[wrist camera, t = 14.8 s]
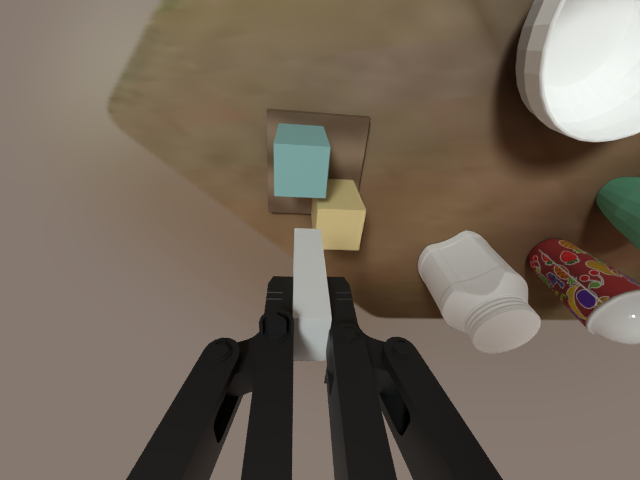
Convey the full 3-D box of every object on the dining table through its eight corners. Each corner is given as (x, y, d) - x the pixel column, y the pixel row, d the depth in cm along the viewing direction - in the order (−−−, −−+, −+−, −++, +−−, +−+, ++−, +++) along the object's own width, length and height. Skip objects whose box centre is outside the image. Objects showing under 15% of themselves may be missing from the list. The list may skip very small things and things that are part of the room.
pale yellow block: (313, 177, 37) (317, 208, 30) (353, 180, 37) (366, 210, 30) (311, 213, 40) (314, 249, 32) (347, 214, 40) (358, 250, 33)
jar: (425, 289, 51) (466, 367, 39) (410, 252, 46) (452, 327, 34) (490, 265, 49) (556, 338, 36) (482, 223, 44) (555, 291, 31)
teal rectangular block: (278, 123, 33) (273, 143, 26) (323, 126, 33) (330, 146, 26) (278, 166, 36) (274, 196, 28) (320, 169, 36) (325, 198, 29)
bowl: (605, 124, 36) (681, 142, 29) (464, 124, 35) (507, 143, 28) (723, -93, 26) (889, -149, 19) (528, -105, 25) (624, -169, 18)
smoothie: (509, 264, 49) (618, 374, 32) (545, 225, 45) (691, 328, 28) (545, 275, 51) (664, 384, 34) (582, 238, 47) (739, 342, 30)
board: (267, 108, 33) (266, 110, 32) (368, 116, 34) (370, 118, 33) (269, 208, 40) (268, 212, 39) (352, 212, 41) (353, 215, 40)
